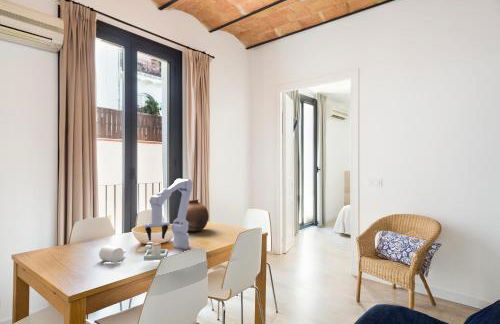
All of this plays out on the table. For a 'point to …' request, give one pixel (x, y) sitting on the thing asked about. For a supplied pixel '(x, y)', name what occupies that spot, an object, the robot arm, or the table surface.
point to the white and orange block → (156, 248)
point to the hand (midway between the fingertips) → (156, 239)
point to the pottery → (196, 215)
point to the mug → (111, 253)
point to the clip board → (142, 249)
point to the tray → (155, 255)
